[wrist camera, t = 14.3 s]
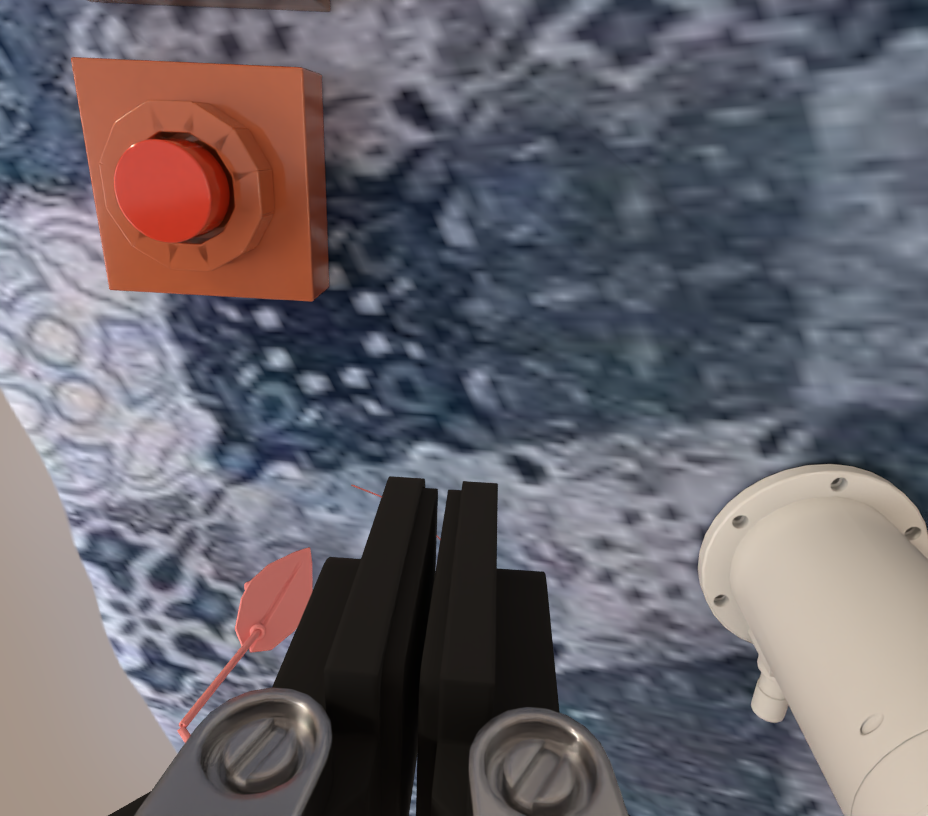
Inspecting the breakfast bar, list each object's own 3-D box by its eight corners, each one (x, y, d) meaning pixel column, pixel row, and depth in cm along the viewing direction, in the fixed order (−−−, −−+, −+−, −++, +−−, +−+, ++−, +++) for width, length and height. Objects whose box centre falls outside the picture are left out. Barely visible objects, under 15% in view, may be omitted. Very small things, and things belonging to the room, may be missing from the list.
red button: (234, 238, 29) (215, 245, 27) (145, 233, 29) (121, 240, 27) (226, 141, 27) (205, 141, 25) (132, 136, 28) (105, 136, 26)
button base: (329, 287, 34) (302, 311, 30) (142, 277, 35) (86, 299, 30) (322, 74, 30) (289, 62, 26) (111, 64, 31) (42, 51, 26)
